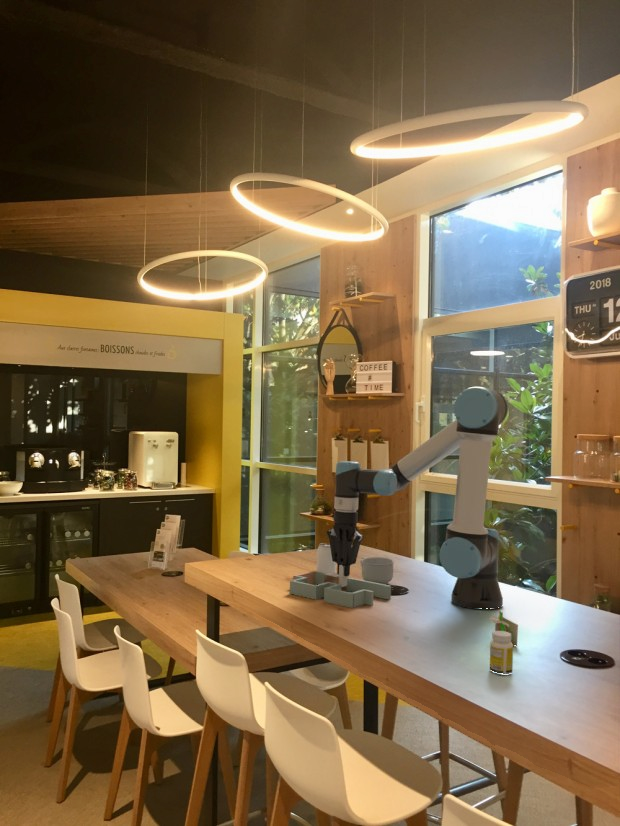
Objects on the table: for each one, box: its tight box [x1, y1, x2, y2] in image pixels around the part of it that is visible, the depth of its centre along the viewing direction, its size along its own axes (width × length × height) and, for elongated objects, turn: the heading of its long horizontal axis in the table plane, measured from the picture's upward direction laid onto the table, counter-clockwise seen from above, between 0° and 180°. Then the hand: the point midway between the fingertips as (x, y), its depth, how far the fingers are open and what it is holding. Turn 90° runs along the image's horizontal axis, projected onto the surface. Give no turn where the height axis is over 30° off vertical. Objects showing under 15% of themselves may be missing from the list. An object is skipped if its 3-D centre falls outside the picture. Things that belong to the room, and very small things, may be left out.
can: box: [315, 543, 337, 574], centre depth 234 cm, size 6×6×12 cm
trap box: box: [289, 570, 392, 609], centre depth 214 cm, size 30×18×4 cm, turn 53°
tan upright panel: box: [489, 610, 519, 647], centre depth 172 cm, size 4×7×8 cm, turn 15°
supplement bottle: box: [489, 630, 514, 674], centre depth 151 cm, size 5×5×8 cm
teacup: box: [360, 556, 395, 585], centre depth 234 cm, size 14×11×8 cm
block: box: [324, 572, 347, 592], centre depth 221 cm, size 5×5×5 cm
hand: (342, 585), depth 218 cm, fingers closed
